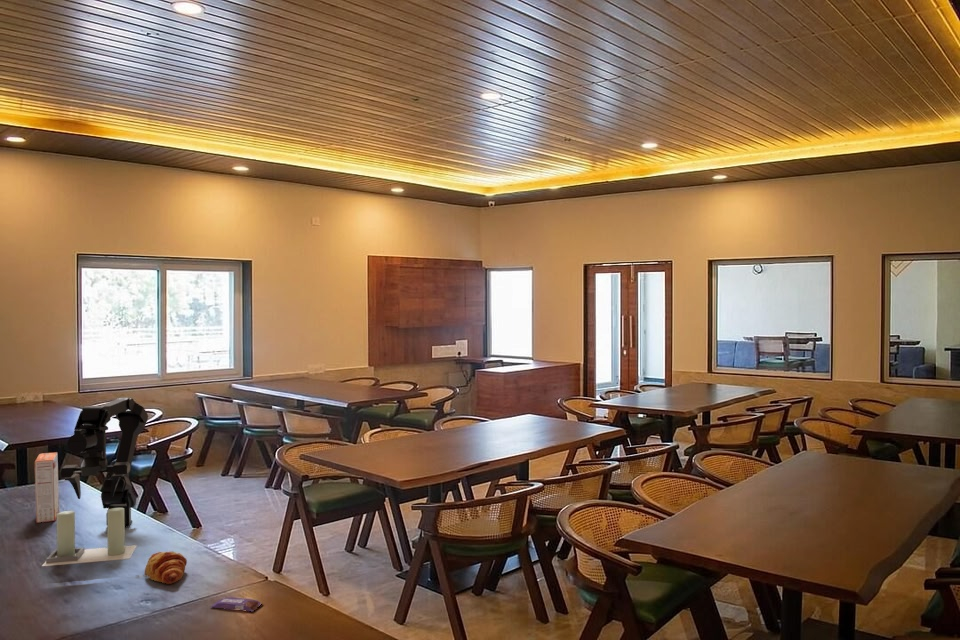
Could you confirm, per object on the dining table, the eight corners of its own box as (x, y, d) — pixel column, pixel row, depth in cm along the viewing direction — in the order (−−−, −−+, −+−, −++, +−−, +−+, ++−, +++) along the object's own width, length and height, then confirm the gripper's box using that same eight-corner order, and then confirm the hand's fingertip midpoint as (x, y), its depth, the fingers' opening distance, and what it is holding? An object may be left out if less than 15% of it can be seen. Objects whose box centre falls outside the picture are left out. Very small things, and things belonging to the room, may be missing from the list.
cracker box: (39, 513, 256) (38, 453, 256) (59, 510, 259) (58, 451, 259) (34, 523, 244) (33, 460, 243) (55, 521, 246) (54, 459, 246)
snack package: (209, 602, 175) (221, 594, 180) (209, 610, 175) (221, 602, 180) (253, 607, 172) (264, 599, 177) (253, 615, 172) (264, 607, 177)
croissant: (147, 578, 204) (131, 555, 202) (180, 555, 209) (166, 532, 207) (164, 602, 186) (147, 577, 184) (200, 576, 192) (184, 551, 189)
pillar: (74, 553, 211) (74, 510, 211) (75, 558, 207) (75, 514, 207) (56, 556, 209) (56, 512, 208) (57, 560, 205) (57, 516, 205)
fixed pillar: (126, 549, 214) (125, 507, 214) (123, 554, 210) (122, 511, 210) (109, 551, 213) (108, 508, 213) (106, 556, 209) (105, 512, 208)
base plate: (137, 548, 218) (137, 541, 218) (129, 561, 207) (129, 554, 207) (54, 555, 212) (53, 547, 212) (41, 569, 201) (41, 561, 201)
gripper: (53, 453, 216) (54, 506, 216) (123, 450, 221) (124, 502, 221) (64, 446, 227) (64, 497, 227) (130, 443, 232) (130, 493, 232)
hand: (95, 497), depth 226 cm, fingers open, 9 cm apart
